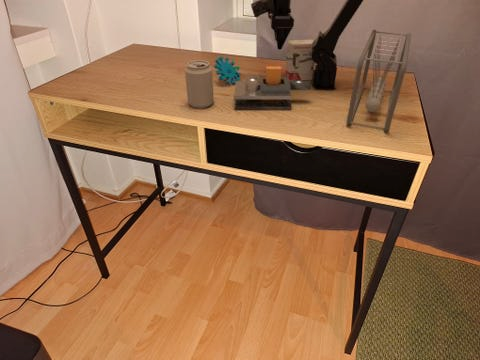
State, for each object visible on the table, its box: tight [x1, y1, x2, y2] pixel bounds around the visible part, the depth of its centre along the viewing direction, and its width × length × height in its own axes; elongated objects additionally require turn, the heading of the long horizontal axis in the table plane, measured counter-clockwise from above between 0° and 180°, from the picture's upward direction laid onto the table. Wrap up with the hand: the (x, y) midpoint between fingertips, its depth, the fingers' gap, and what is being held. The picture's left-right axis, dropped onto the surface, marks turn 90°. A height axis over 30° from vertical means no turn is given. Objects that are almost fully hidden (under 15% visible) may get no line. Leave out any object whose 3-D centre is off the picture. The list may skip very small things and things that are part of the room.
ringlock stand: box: [234, 74, 312, 111], centre depth 103 cm, size 22×12×7 cm, turn 89°
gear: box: [213, 55, 242, 85], centre depth 117 cm, size 11×6×10 cm
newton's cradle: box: [346, 29, 412, 132], centre depth 97 cm, size 30×10×18 cm, turn 157°
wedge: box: [265, 65, 282, 84], centre depth 102 cm, size 4×2×9 cm, turn 89°
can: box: [184, 59, 215, 109], centre depth 101 cm, size 8×8×12 cm
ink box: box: [284, 39, 316, 81], centre depth 116 cm, size 9×5×12 cm, turn 98°
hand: (278, 44), depth 110 cm, fingers open, 9 cm apart
